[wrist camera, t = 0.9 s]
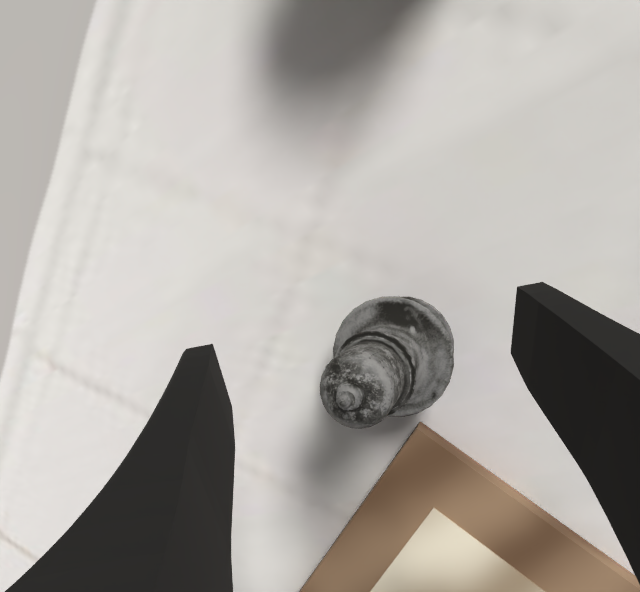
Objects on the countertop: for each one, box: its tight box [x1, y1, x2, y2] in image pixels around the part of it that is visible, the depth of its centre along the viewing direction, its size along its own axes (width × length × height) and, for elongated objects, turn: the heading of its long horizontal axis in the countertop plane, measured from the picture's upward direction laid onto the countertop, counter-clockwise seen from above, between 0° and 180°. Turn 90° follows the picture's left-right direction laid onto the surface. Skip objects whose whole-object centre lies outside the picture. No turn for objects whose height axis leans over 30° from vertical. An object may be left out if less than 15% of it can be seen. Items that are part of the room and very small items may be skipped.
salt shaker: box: [320, 297, 454, 429], centre depth 24 cm, size 6×6×12 cm
